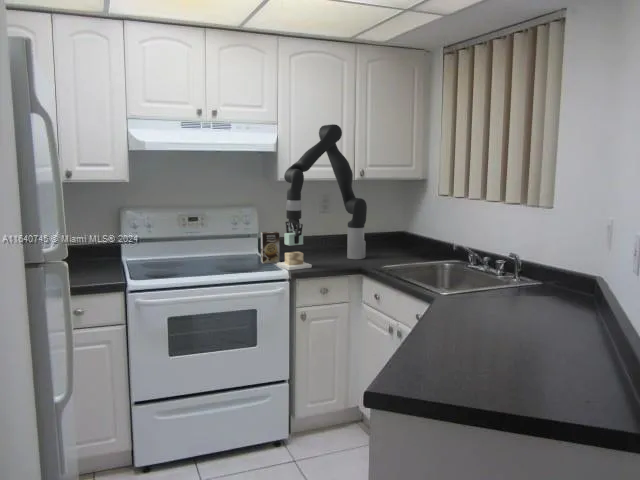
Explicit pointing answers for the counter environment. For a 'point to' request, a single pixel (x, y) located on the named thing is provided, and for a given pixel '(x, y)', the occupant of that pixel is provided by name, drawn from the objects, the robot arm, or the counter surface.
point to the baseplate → (294, 266)
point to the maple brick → (293, 258)
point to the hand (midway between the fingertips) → (293, 242)
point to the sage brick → (292, 239)
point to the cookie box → (269, 247)
